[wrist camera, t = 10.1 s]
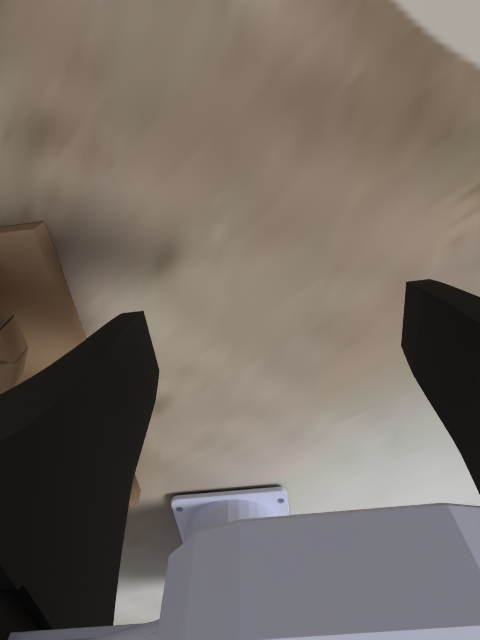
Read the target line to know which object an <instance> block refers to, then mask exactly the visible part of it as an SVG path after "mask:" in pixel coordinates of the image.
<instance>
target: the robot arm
mask: <svg viewBox="0 0 480 640" xmlns="http://www.w3.org/2000/svg"><path fill="white" fill-rule="evenodd" d="M401 346H402V349H403V352H404V354H405V357H406V359H407V362H408V364H409V366H410V369H411V371H412V373H413V375H414V377H415V379H416V380H417V382H418V384H419V385H420V387H421V389H422V390H423V392H424V394H425V395H426V397H427V399H428V400H429V402H430V403H431V405H432V407H433V408H434V410H435V411H436V413H437V415H438V416H439V418H440V420H441V421H442V423H443V424H444V426H445V428H446V429H447V431H448V432H449V434H450V436H451V437H452V439H453V441H454V442H455V444H456V446H457V448H458V450H459V451H460V453H461V455H462V457H463V459H464V462H465V464H466V466H467V468H468V470H469V472H470V474H471V476H472V479H473V481H474V483H475V485H476V487H477V489H478V492H479V494H480V297H478V296H476V295H473V294H471V293H468V292H466V291H463V290H460V289H458V288H455V287H453V286H450V285H447V284H444V283H441V282H438V281H435V280H431V279H427V280H418V281H409V282H406V292H405V305H404V317H403V330H402V342H401ZM158 378H159V367H158V364H157V360H156V356H155V352H154V349H153V345H152V341H151V337H150V334H149V330H148V326H147V323H146V319H145V315H144V311H139V312H130V313H122V314H120V315H118V316H117V317H115V318H114V319H112V320H111V321H109V322H108V323H107V324H105V325H104V326H103V327H101V328H100V329H99V330H97V331H96V332H95V333H93V334H92V335H91V336H90V337H88V338H87V339H86V340H84V341H83V342H82V343H80V344H79V345H78V346H76V347H75V348H74V349H72V350H71V351H69V352H68V353H66V354H65V355H64V356H62V357H61V358H59V359H58V360H56V361H55V362H54V363H52V364H51V365H49V366H48V367H46V368H45V369H43V370H42V371H40V372H39V373H37V374H35V375H34V376H32V377H31V378H29V379H27V380H25V381H24V382H22V383H20V384H18V385H17V386H15V387H13V388H11V389H9V390H8V391H6V392H4V393H2V394H0V640H480V506H471V505H460V504H450V503H435V504H423V505H410V506H398V507H386V508H373V509H361V510H349V511H336V512H324V513H312V514H300V515H289V509H288V499H287V491H286V489H285V488H283V487H271V488H259V489H247V490H236V491H224V492H212V493H200V494H189V495H177V496H174V497H173V498H172V499H171V507H172V510H173V513H174V516H175V520H176V523H177V526H178V529H179V532H180V536H181V539H182V542H183V544H182V545H181V546H180V547H178V548H177V549H176V550H175V551H174V552H173V553H171V554H170V555H169V558H168V565H167V572H166V579H165V586H164V593H163V599H162V606H161V613H160V620H156V621H153V622H149V623H144V624H129V625H115V626H113V621H114V611H115V601H116V593H117V585H118V577H119V569H120V560H121V553H122V546H123V539H124V532H125V526H126V519H127V513H128V507H129V501H130V495H131V489H132V484H133V479H134V475H135V471H136V467H137V463H138V460H139V456H140V453H141V450H142V446H143V443H144V439H145V436H146V432H147V429H148V426H149V422H150V418H151V415H152V411H153V408H154V404H155V400H156V394H157V387H158Z"/></svg>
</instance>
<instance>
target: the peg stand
mask: <svg viewBox="0 0 480 640" xmlns="http://www.w3.org/2000/svg"><path fill="white" fill-rule="evenodd" d="M84 340H86V336H85V334H84V331H83V328H82V325H81V322H80V320H79V317H78V314H77V311H76V308H75V306H74V303H73V300H72V297H71V294H70V292H69V289H68V286H67V283H66V280H65V278H64V275H63V272H62V269H61V266H60V264H59V261H58V258H57V255H56V252H55V250H54V247H53V244H52V241H51V238H50V236H49V233H48V230H47V227H46V224H45V222H44V221H43V222H35V223H27V224H19V225H11V226H3V227H0V394H2V393H4V392H6V391H8V390H9V389H11V388H13V387H15V386H17V385H18V384H20V383H22V382H24V381H25V380H27V379H29V378H31V377H32V376H34V375H35V374H37V373H39V372H40V371H42V370H43V369H45V368H46V367H48V366H49V365H51V364H52V363H54V362H55V361H56V360H58V359H59V358H61V357H62V356H64V355H65V354H66V353H68V352H69V351H71V350H72V349H74V348H75V347H76V346H78V345H79V344H80V343H82V342H83V341H84ZM139 495H140V488H139V485H138V482H137V479H136V477H135V475H134V479H133V484H132V489H131V495H130V501H129V507H132V506H137V504H138V500H139Z"/></svg>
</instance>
